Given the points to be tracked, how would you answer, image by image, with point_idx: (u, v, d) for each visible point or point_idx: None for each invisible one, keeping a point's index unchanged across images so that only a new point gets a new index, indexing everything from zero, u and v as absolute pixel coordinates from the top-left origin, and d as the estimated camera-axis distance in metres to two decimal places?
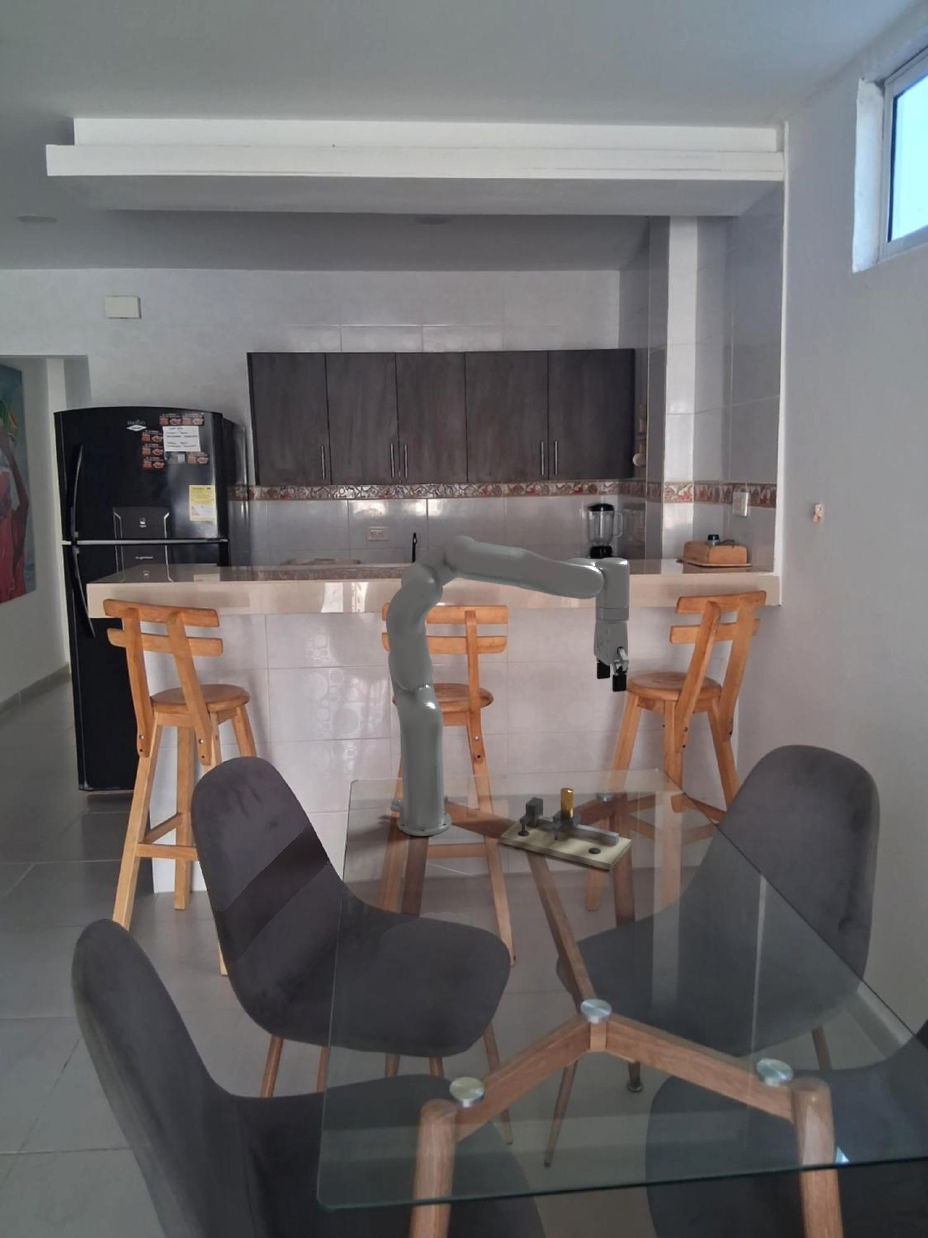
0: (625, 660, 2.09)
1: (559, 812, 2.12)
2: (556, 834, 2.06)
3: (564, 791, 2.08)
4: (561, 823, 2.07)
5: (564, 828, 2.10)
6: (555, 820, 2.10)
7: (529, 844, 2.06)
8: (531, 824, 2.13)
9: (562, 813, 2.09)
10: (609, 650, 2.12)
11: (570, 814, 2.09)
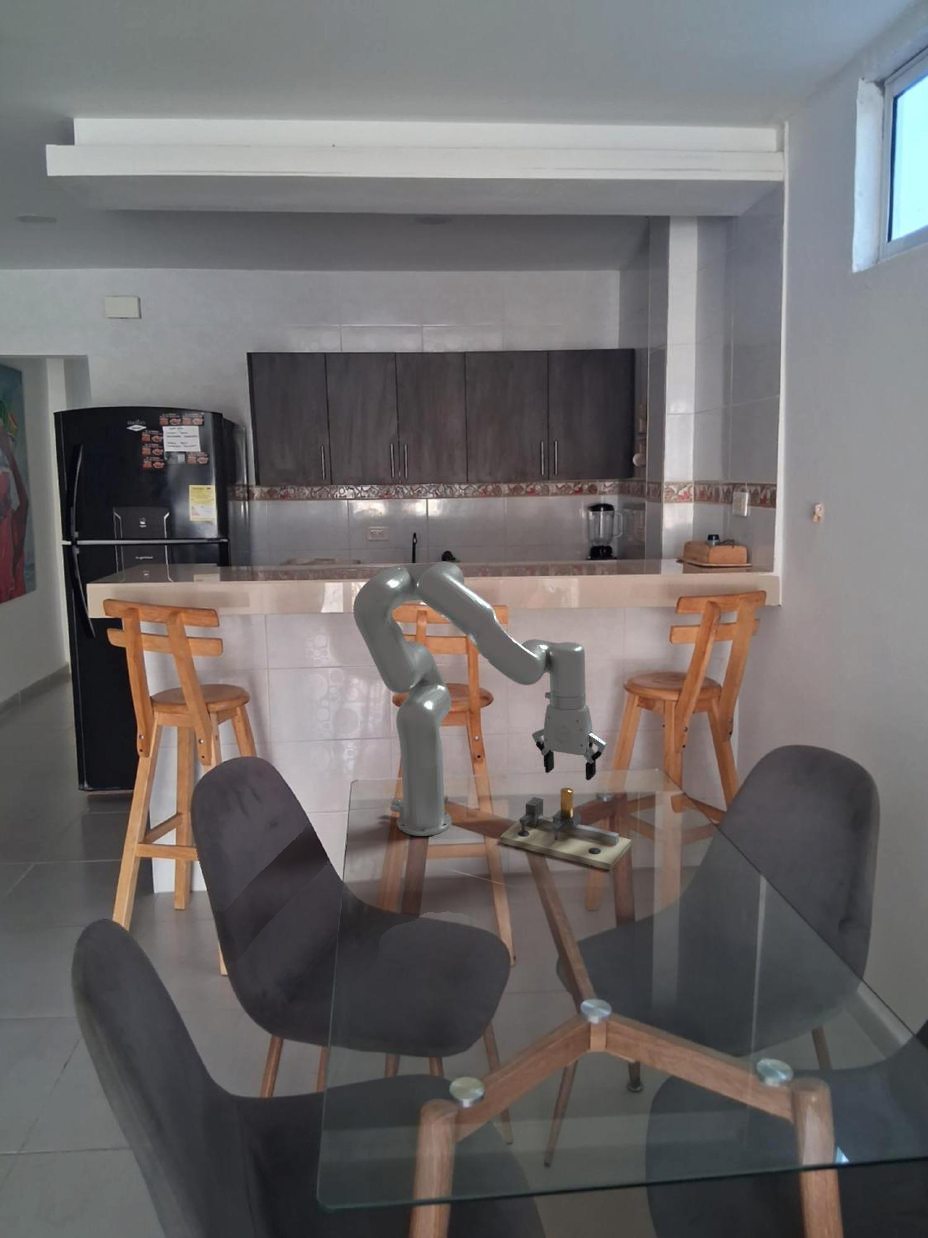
0: (605, 745, 2.01)
1: (559, 812, 2.12)
2: (556, 834, 2.06)
3: (564, 791, 2.08)
4: (561, 823, 2.07)
5: (564, 828, 2.10)
6: (555, 820, 2.10)
7: (529, 844, 2.06)
8: (531, 824, 2.13)
9: (562, 813, 2.09)
10: (584, 739, 2.01)
11: (570, 814, 2.09)
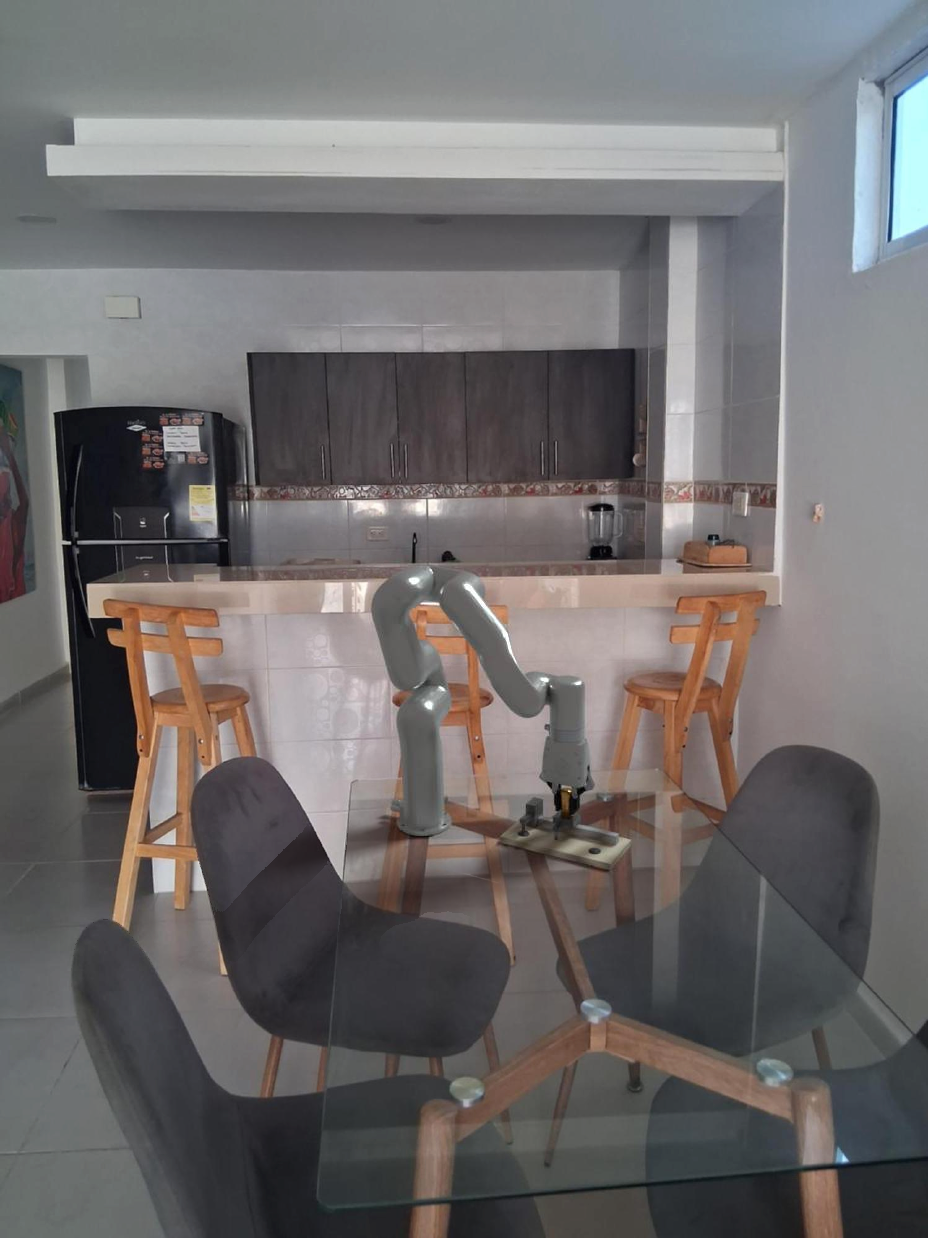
0: (593, 787, 2.05)
1: (559, 812, 2.12)
2: (556, 834, 2.06)
3: (564, 791, 2.08)
4: (561, 823, 2.07)
5: (564, 828, 2.10)
6: (555, 820, 2.10)
7: (529, 844, 2.06)
8: (531, 824, 2.13)
9: (562, 813, 2.09)
10: (582, 772, 2.03)
11: (570, 814, 2.09)
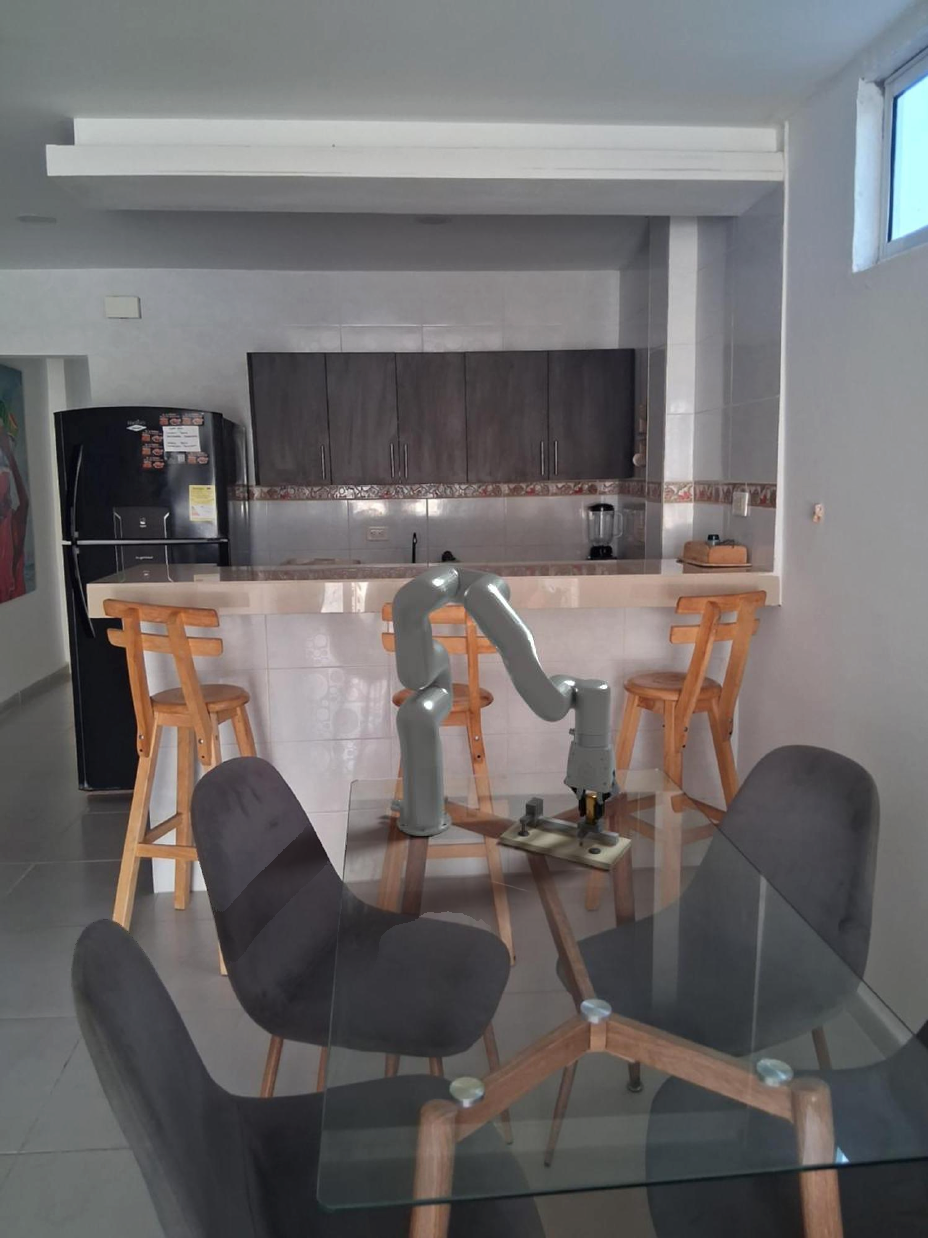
0: (619, 793, 2.02)
1: (583, 818, 2.09)
2: (581, 840, 2.03)
3: (589, 796, 2.05)
4: (585, 829, 2.04)
5: (564, 828, 2.10)
6: (580, 826, 2.07)
7: (529, 844, 2.06)
8: (531, 824, 2.13)
9: (587, 819, 2.06)
10: (608, 777, 2.00)
11: (594, 820, 2.06)
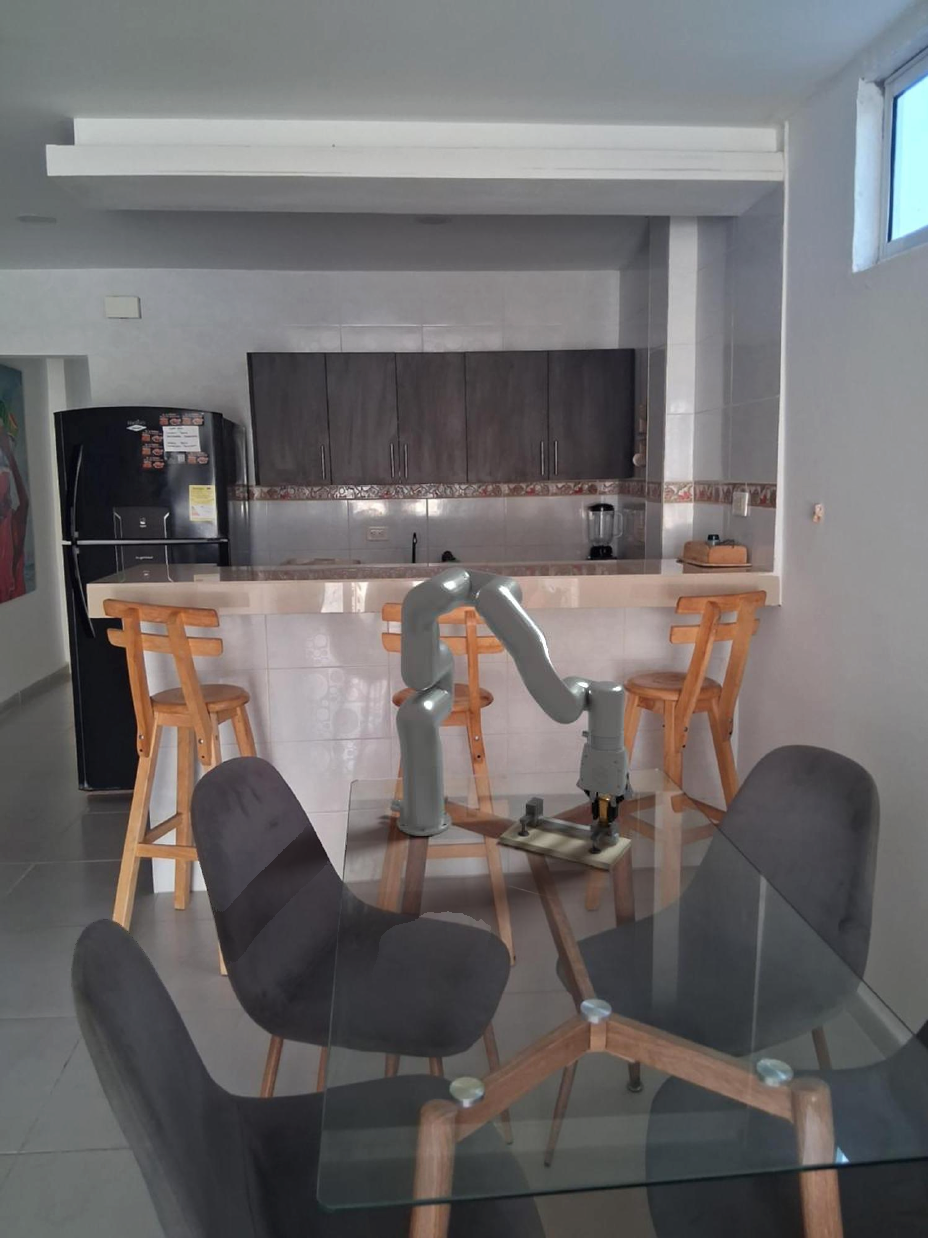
0: None
1: (596, 820, 2.07)
2: (594, 843, 2.01)
3: (602, 799, 2.04)
4: (599, 832, 2.03)
5: (564, 828, 2.10)
6: (593, 829, 2.05)
7: (529, 844, 2.06)
8: (531, 824, 2.13)
9: (600, 822, 2.05)
10: (621, 780, 1.98)
11: (608, 823, 2.04)
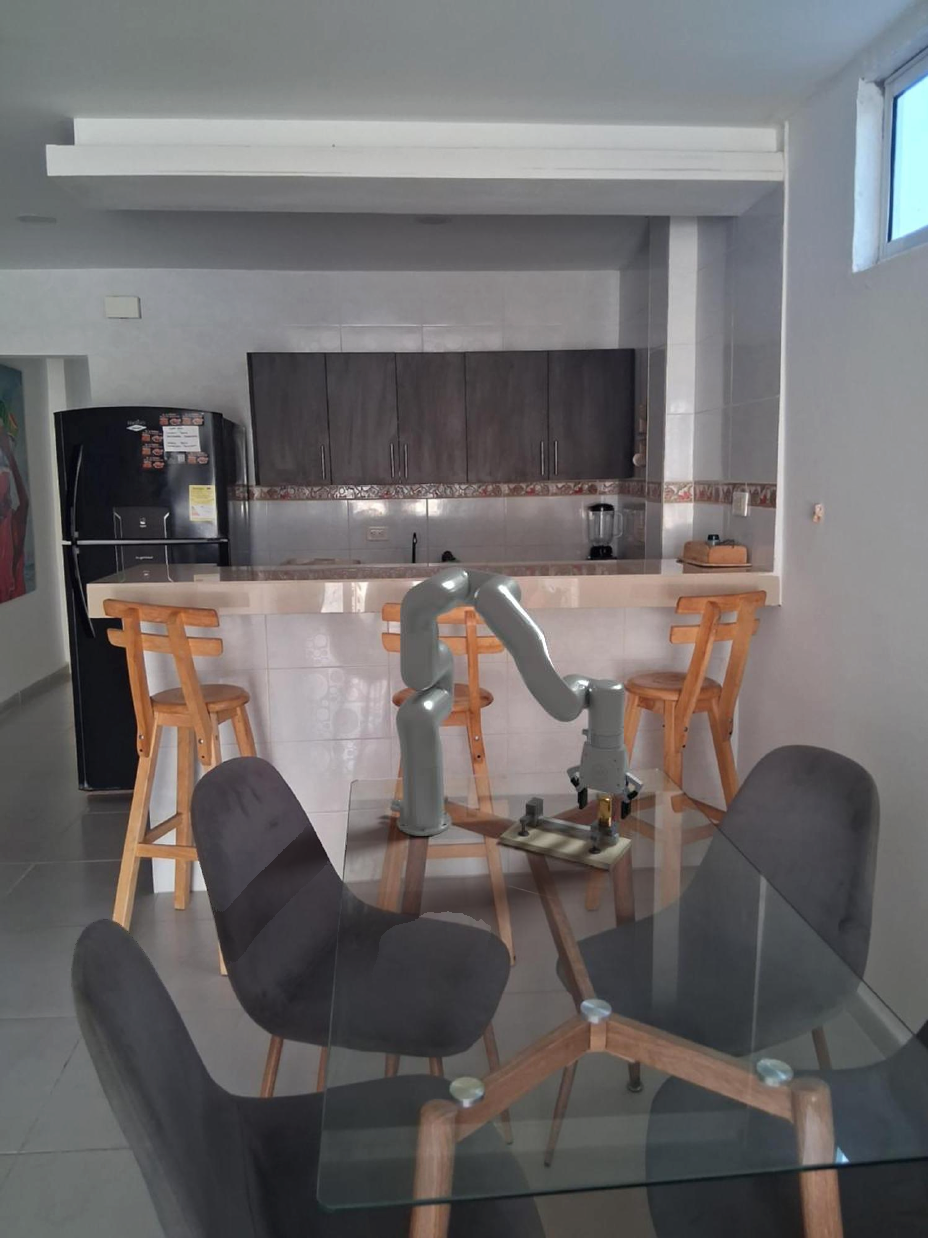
0: (642, 785, 1.99)
1: (596, 820, 2.07)
2: (594, 843, 2.01)
3: (602, 799, 2.04)
4: (599, 832, 2.03)
5: (564, 828, 2.10)
6: (593, 829, 2.05)
7: (529, 844, 2.06)
8: (531, 824, 2.13)
9: (600, 822, 2.05)
10: (621, 778, 1.98)
11: (608, 823, 2.04)
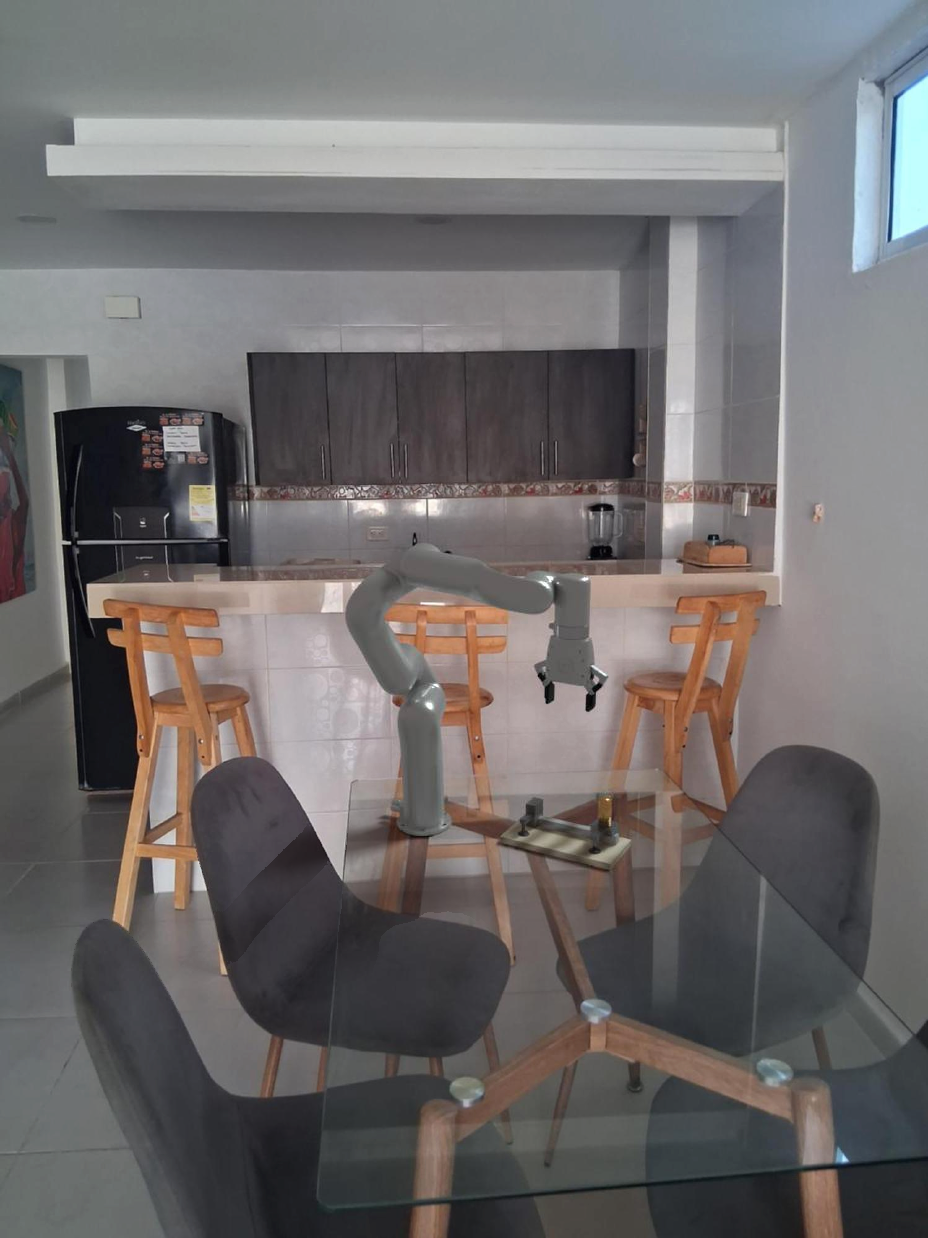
0: (606, 677, 2.02)
1: (596, 820, 2.07)
2: (594, 843, 2.01)
3: (602, 799, 2.04)
4: (599, 832, 2.03)
5: (564, 828, 2.10)
6: (593, 829, 2.05)
7: (529, 844, 2.06)
8: (531, 824, 2.13)
9: (600, 822, 2.05)
10: (585, 670, 2.02)
11: (608, 823, 2.04)
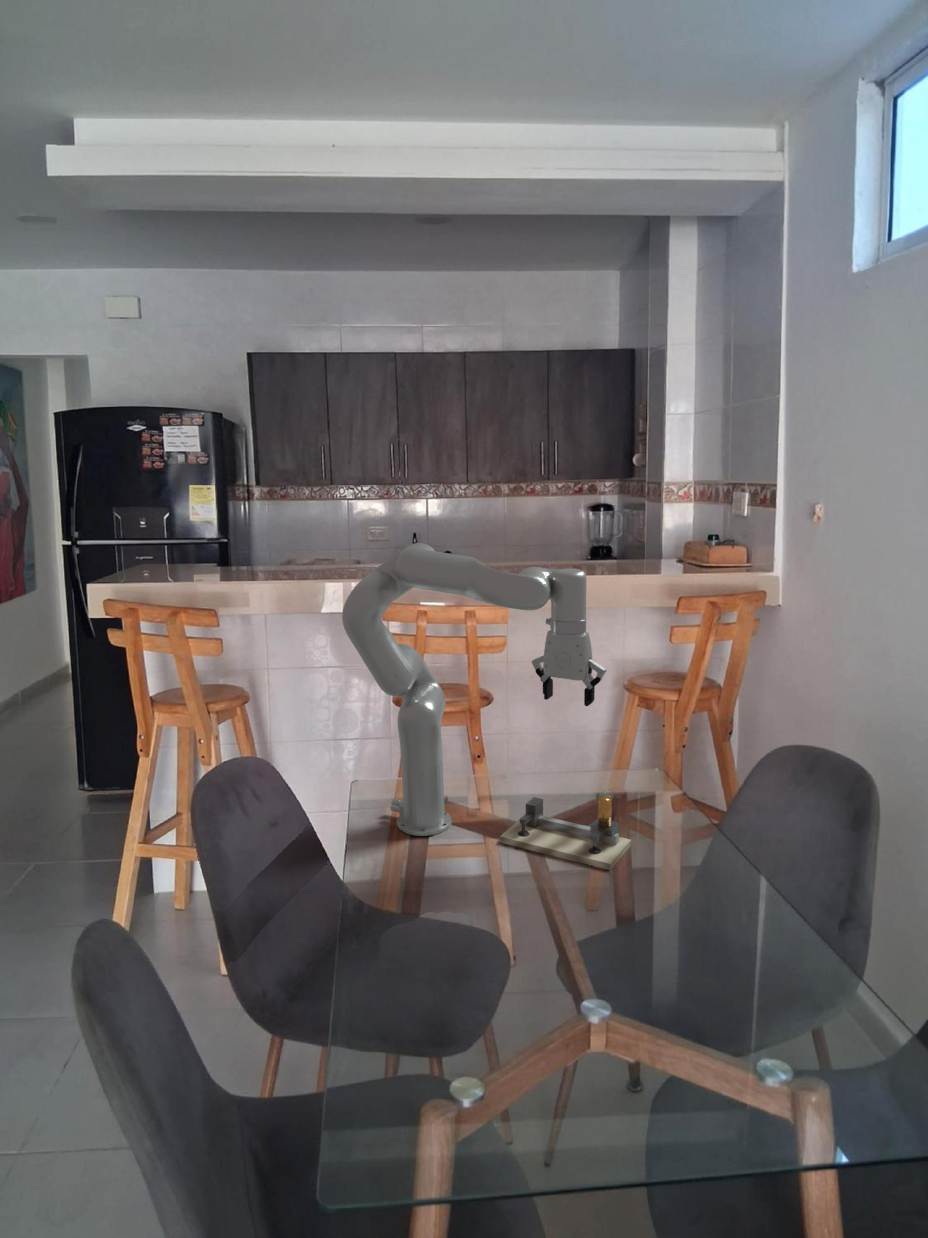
0: (604, 670, 2.03)
1: (596, 820, 2.07)
2: (594, 843, 2.01)
3: (602, 799, 2.04)
4: (599, 832, 2.03)
5: (564, 828, 2.10)
6: (593, 829, 2.05)
7: (529, 844, 2.06)
8: (531, 824, 2.13)
9: (600, 822, 2.05)
10: (583, 664, 2.03)
11: (608, 823, 2.04)
